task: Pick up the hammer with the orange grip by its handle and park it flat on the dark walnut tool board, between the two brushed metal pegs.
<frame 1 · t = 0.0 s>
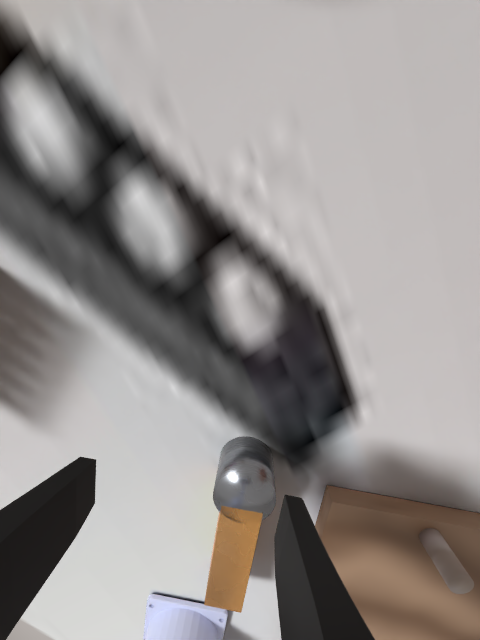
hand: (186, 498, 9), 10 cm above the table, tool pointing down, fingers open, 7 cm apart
walnut board: (385, 597, 23), on the table
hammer: (237, 506, 21), on the table
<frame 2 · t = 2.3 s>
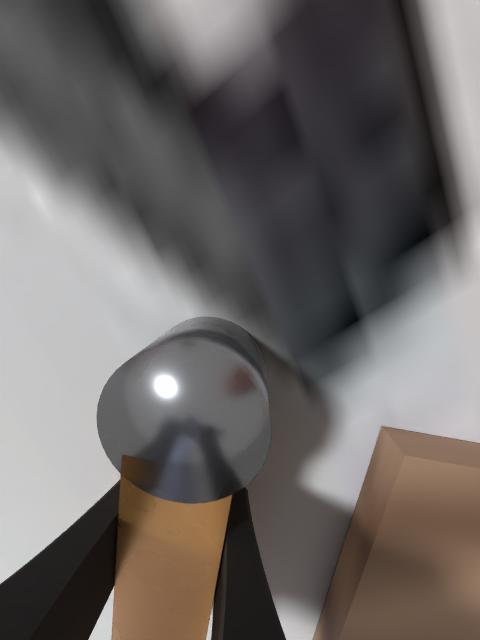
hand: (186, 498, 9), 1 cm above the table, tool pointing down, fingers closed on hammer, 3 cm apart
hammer: (194, 477, 11), on the table, touching gripper
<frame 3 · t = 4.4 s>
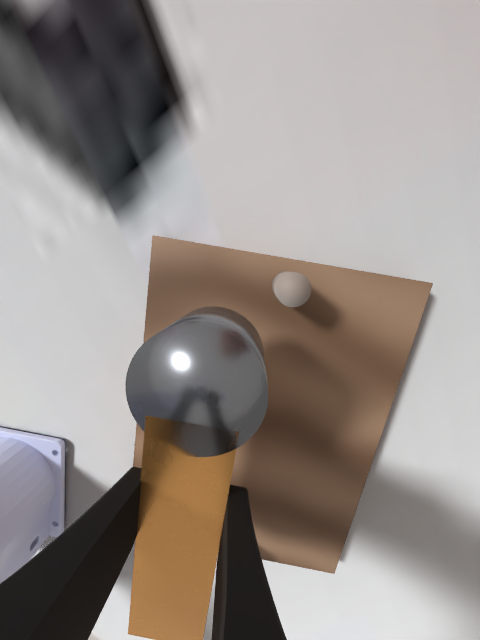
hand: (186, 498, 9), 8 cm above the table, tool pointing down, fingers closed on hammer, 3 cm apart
walnut board: (255, 414, 18), on the table
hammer: (201, 450, 12), point 6 cm above the table, touching gripper
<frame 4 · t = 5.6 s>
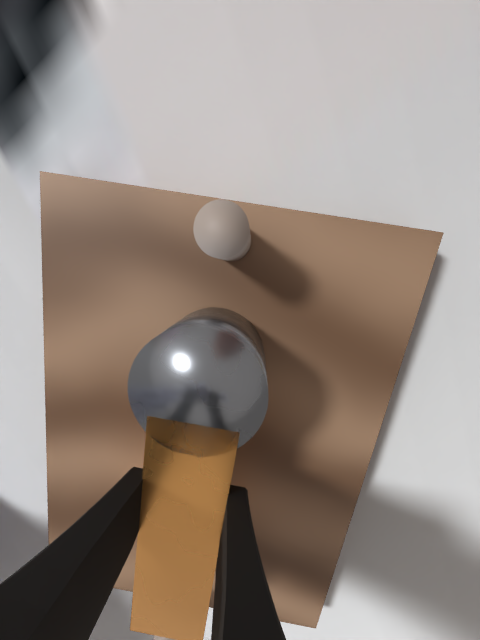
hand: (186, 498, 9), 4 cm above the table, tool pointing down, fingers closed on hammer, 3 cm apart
walnut board: (208, 422, 13), on the table
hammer: (201, 449, 12), point 1 cm above the table, touching gripper, walnut board
when the fingers open (4 cm above the table, at t = 6.2 s): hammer stays where it is, resting on walnut board.
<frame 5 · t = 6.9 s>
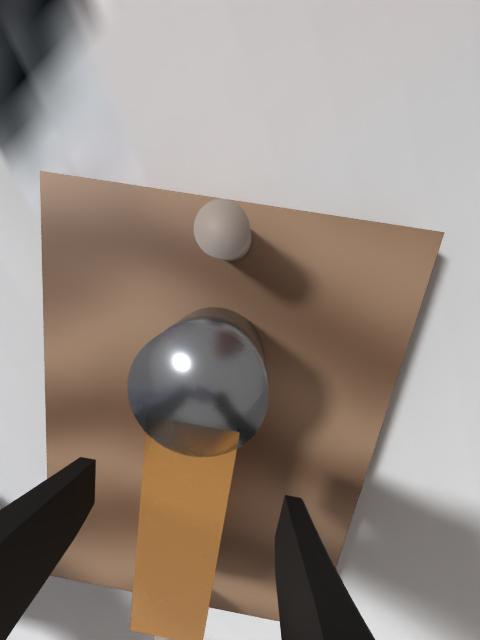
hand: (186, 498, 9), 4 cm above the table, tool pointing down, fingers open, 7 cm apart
walnut board: (209, 422, 13), on the table
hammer: (201, 450, 12), point 1 cm above the table, touching walnut board
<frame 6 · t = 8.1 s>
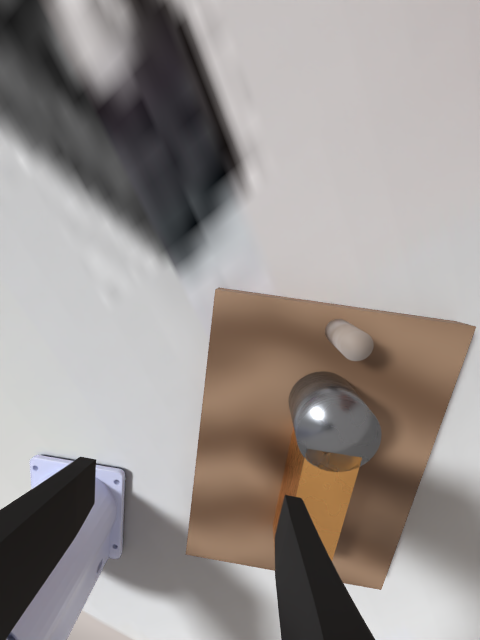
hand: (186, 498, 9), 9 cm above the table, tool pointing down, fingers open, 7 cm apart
walnut board: (304, 443, 19), on the table
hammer: (307, 463, 17), point 1 cm above the table, touching walnut board
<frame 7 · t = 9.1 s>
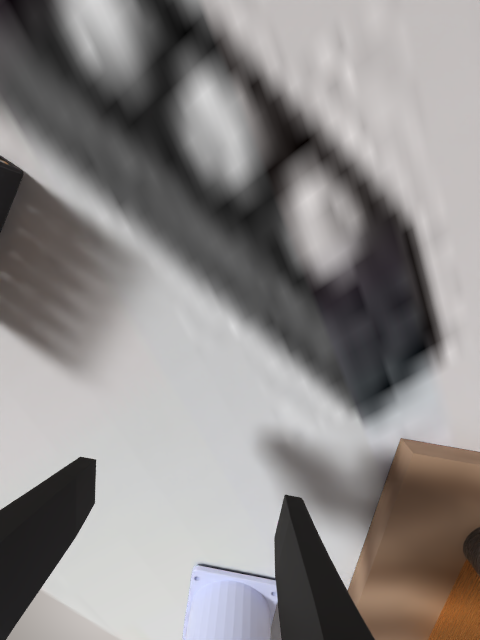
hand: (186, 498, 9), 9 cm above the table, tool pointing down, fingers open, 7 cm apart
walnut board: (457, 567, 20), on the table
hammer: (470, 594, 19), point 1 cm above the table, touching walnut board
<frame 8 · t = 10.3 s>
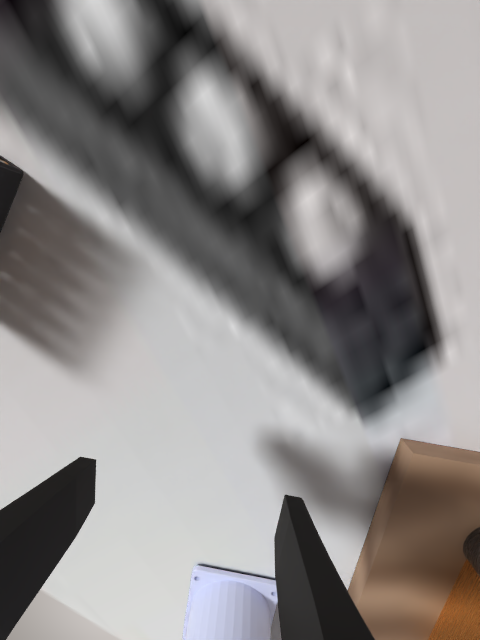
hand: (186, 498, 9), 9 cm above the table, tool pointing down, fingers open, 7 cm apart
walnut board: (457, 567, 20), on the table
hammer: (470, 594, 19), point 1 cm above the table, touching walnut board
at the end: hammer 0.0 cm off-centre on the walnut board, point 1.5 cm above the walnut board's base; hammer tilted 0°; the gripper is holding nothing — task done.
